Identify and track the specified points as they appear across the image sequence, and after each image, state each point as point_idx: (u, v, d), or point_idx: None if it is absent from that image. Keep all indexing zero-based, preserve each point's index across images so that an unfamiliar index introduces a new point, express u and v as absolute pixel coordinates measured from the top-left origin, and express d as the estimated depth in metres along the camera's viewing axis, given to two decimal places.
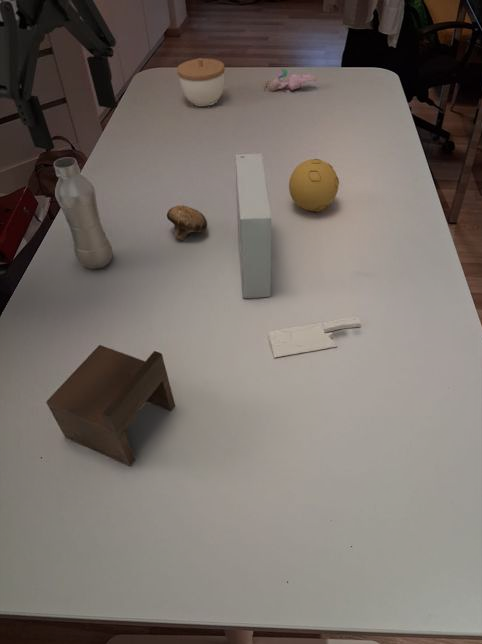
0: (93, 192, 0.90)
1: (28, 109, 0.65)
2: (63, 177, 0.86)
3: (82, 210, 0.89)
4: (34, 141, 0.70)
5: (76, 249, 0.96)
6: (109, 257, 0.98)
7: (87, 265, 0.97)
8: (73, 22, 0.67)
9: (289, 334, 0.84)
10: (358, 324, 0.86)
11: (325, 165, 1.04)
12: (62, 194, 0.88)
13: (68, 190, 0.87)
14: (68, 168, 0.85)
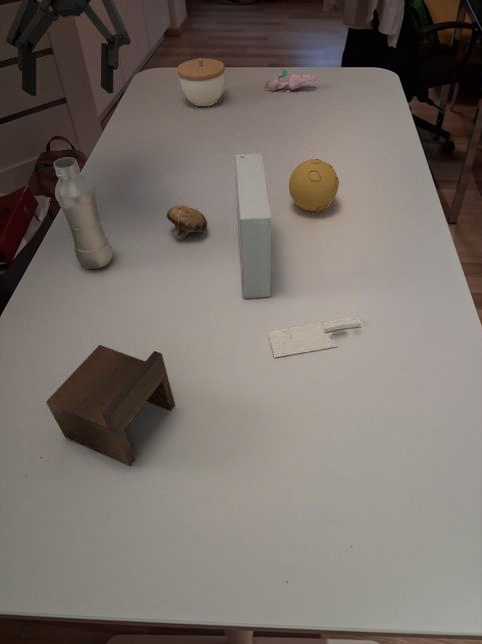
0: (93, 192, 0.90)
1: None
2: (63, 177, 0.86)
3: (82, 210, 0.89)
4: (106, 82, 0.84)
5: (76, 249, 0.96)
6: (109, 257, 0.98)
7: (87, 265, 0.97)
8: (56, 18, 0.87)
9: (289, 334, 0.84)
10: (358, 324, 0.86)
11: (325, 165, 1.04)
12: (62, 194, 0.88)
13: (68, 190, 0.87)
14: (68, 168, 0.85)
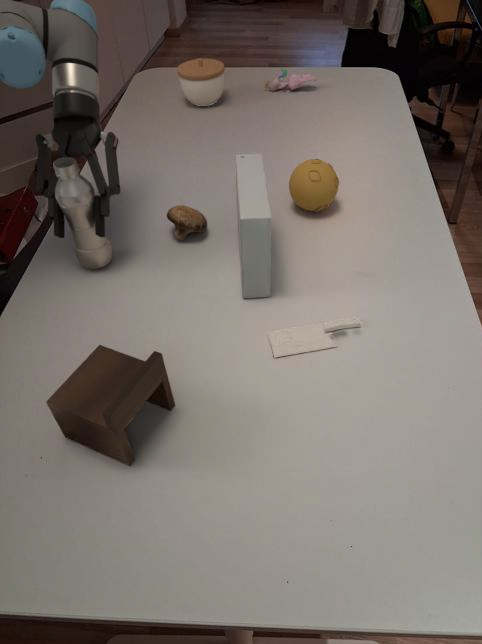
0: (93, 192, 0.90)
1: None
2: (63, 177, 0.86)
3: (82, 210, 0.89)
4: (100, 230, 0.91)
5: (76, 249, 0.96)
6: (109, 257, 0.98)
7: (87, 265, 0.97)
8: None
9: (289, 334, 0.84)
10: (358, 324, 0.86)
11: (325, 165, 1.04)
12: (61, 194, 0.88)
13: (67, 190, 0.87)
14: (67, 168, 0.85)
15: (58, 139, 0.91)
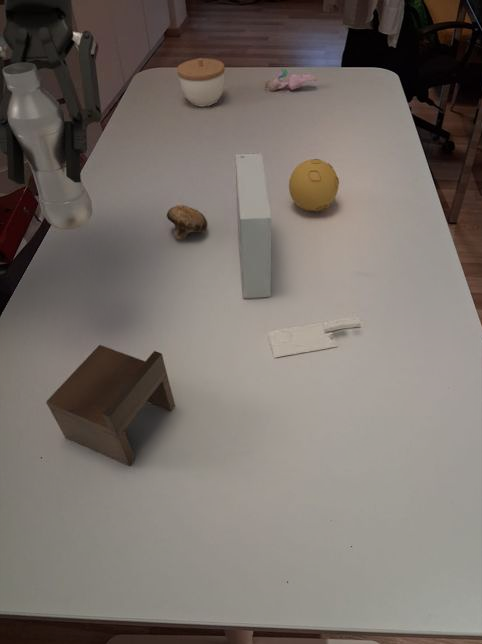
0: (62, 115, 0.63)
1: None
2: (17, 89, 0.59)
3: (47, 140, 0.63)
4: (73, 170, 0.64)
5: (42, 201, 0.70)
6: (88, 213, 0.72)
7: (57, 224, 0.71)
8: None
9: (289, 334, 0.84)
10: (358, 324, 0.86)
11: (325, 165, 1.04)
12: (16, 116, 0.61)
13: (25, 110, 0.61)
14: (23, 75, 0.59)
15: (12, 42, 0.64)
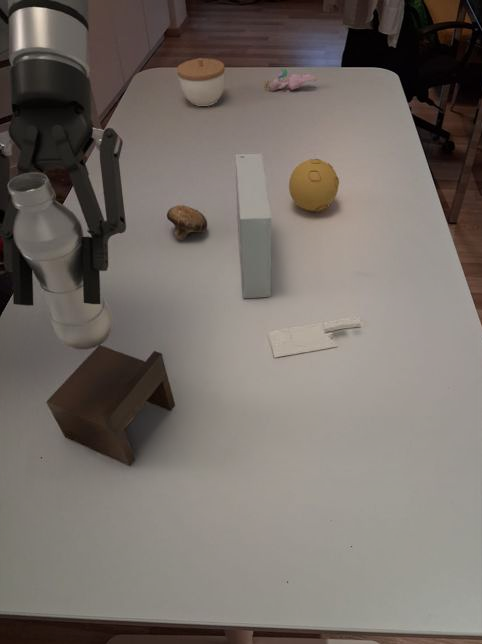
0: (79, 231, 0.52)
1: None
2: (25, 208, 0.48)
3: (61, 262, 0.52)
4: (91, 295, 0.53)
5: (53, 321, 0.59)
6: (107, 331, 0.61)
7: (71, 345, 0.60)
8: None
9: (289, 334, 0.84)
10: (358, 324, 0.86)
11: (325, 165, 1.04)
12: (24, 237, 0.50)
13: (34, 231, 0.50)
14: (33, 193, 0.48)
15: (20, 141, 0.53)
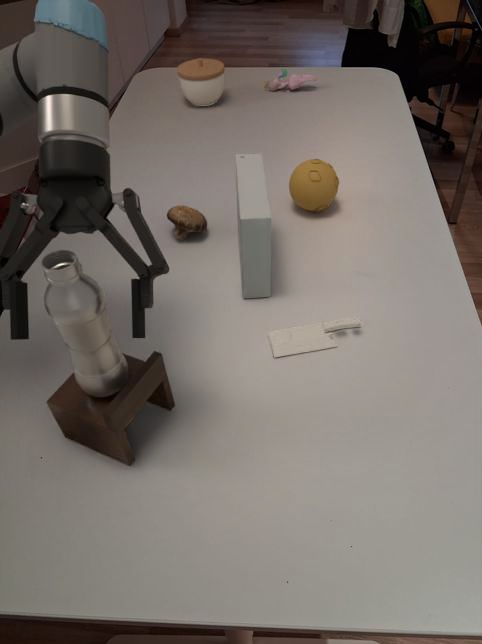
0: (102, 299, 0.58)
1: None
2: (56, 283, 0.55)
3: (86, 327, 0.58)
4: (139, 331, 0.59)
5: (76, 373, 0.65)
6: (125, 380, 0.67)
7: (92, 394, 0.66)
8: (56, 234, 0.62)
9: (289, 334, 0.84)
10: (358, 324, 0.86)
11: (325, 165, 1.04)
12: (54, 307, 0.56)
13: (64, 302, 0.56)
14: (64, 270, 0.54)
15: (47, 209, 0.59)
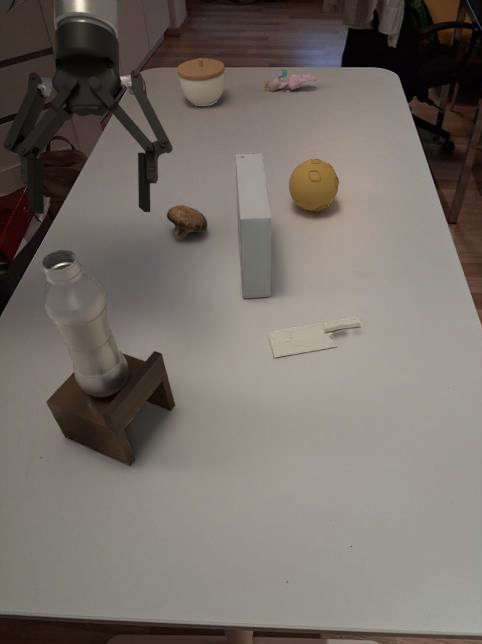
0: (102, 299, 0.58)
1: None
2: (56, 283, 0.55)
3: (86, 327, 0.58)
4: (145, 201, 0.65)
5: (76, 373, 0.65)
6: (125, 380, 0.67)
7: (92, 394, 0.66)
8: (69, 116, 0.67)
9: (289, 334, 0.84)
10: (358, 324, 0.86)
11: (325, 165, 1.04)
12: (54, 307, 0.56)
13: (64, 302, 0.56)
14: (64, 270, 0.54)
15: None
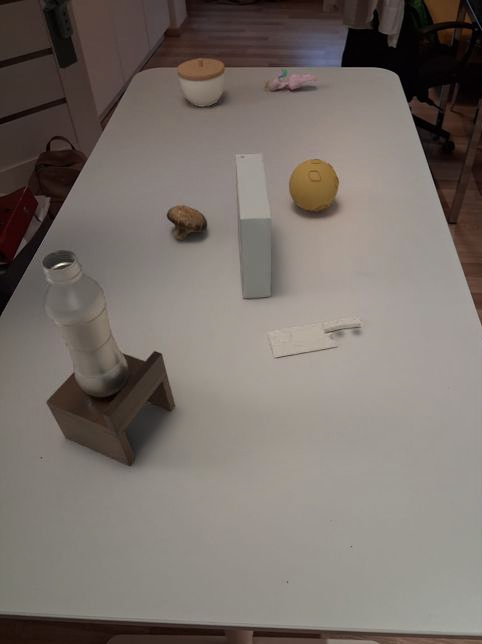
0: (102, 299, 0.58)
1: None
2: (56, 283, 0.55)
3: (86, 327, 0.58)
4: (63, 61, 0.68)
5: (76, 373, 0.65)
6: (125, 380, 0.67)
7: (92, 394, 0.66)
8: None
9: (289, 334, 0.84)
10: (358, 324, 0.86)
11: (325, 165, 1.04)
12: (54, 307, 0.56)
13: (64, 302, 0.56)
14: (64, 270, 0.54)
15: None
